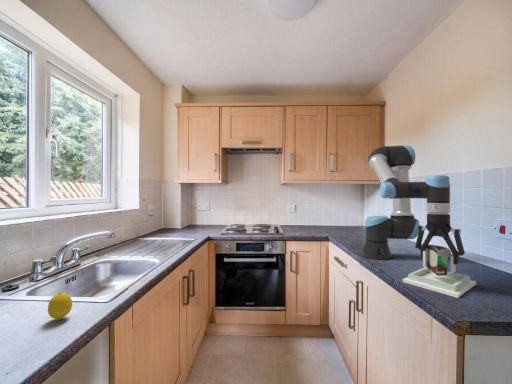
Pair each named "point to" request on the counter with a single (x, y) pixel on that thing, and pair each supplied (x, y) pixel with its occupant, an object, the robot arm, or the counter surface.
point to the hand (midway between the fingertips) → (438, 269)
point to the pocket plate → (440, 282)
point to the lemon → (59, 306)
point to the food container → (438, 259)
